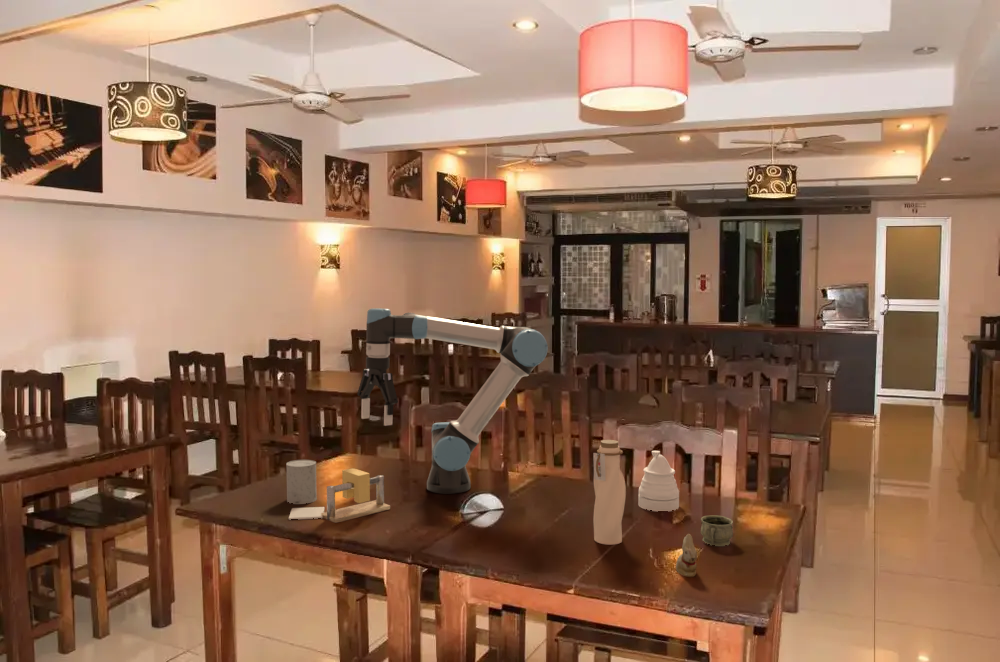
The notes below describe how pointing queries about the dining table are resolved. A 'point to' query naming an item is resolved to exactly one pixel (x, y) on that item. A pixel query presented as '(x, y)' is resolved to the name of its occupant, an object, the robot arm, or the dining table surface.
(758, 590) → the dining table surface
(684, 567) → the chocolate bunny
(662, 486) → the honey pot
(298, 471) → the grey speckled cylinder
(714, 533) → the vessel
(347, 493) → the c link
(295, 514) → the coaster
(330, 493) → the rail stand
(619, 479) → the water bottle
